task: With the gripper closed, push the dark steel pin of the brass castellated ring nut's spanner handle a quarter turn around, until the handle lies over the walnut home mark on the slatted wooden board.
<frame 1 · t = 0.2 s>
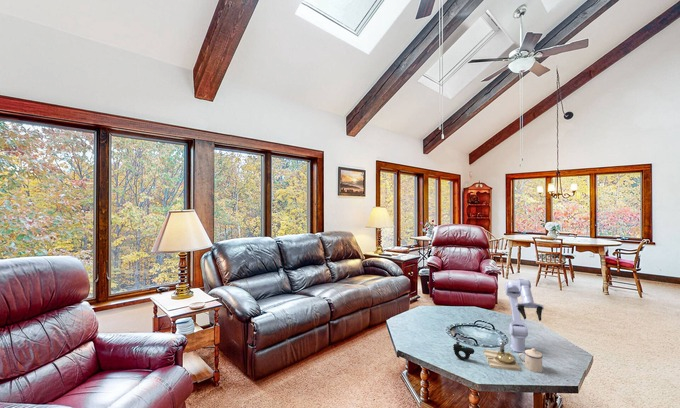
hand: (532, 319, 173), 31 cm above the table, tool tilted 45°, fingers open, 7 cm apart
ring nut: (504, 352, 185), point 6 cm above the table, hinge at 0.0°
teacup with lid: (530, 368, 178), on the table
controller: (463, 359, 188), on the table
slatted wooden board: (500, 360, 186), on the table
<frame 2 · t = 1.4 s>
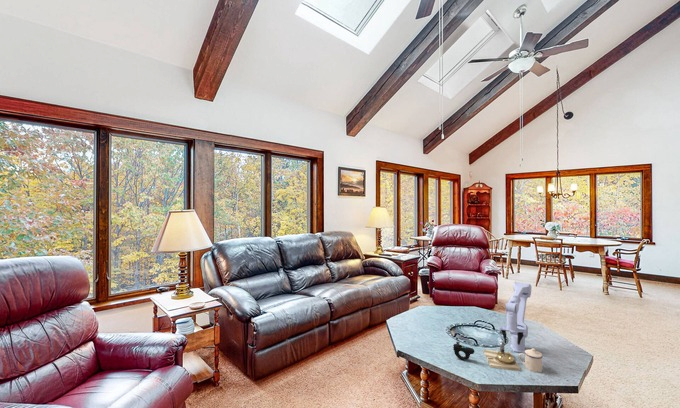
hand: (511, 343, 189), 9 cm above the table, tool pointing down, fingers open, 7 cm apart
nothing on the table moved.
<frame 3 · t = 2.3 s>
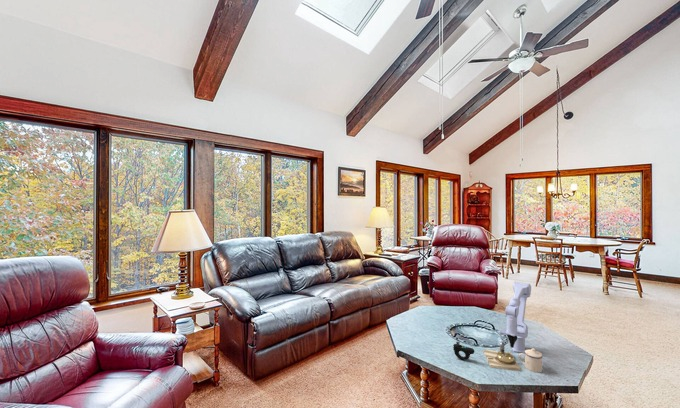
hand: (511, 346, 189), 7 cm above the table, tool pointing down, fingers closed
nothing on the table moved.
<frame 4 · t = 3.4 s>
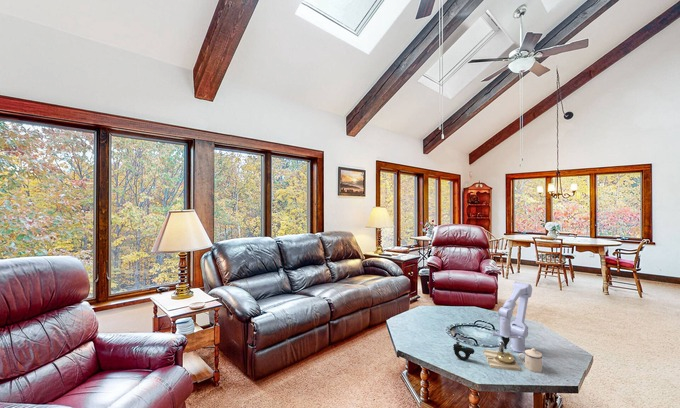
hand: (505, 348, 190), 6 cm above the table, tool pointing down, fingers closed
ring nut: (504, 352, 185), point 6 cm above the table, hinge at 3.8°, touching gripper
everything else where it was.
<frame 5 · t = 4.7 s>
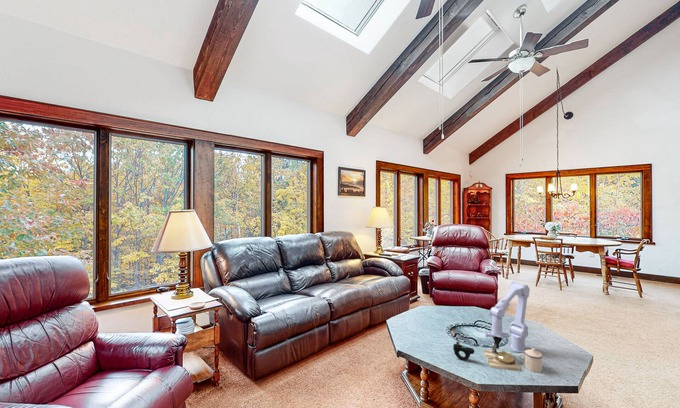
hand: (497, 348, 191), 6 cm above the table, tool pointing down, fingers closed
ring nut: (502, 352, 185), point 6 cm above the table, hinge at 45.2°, touching gripper
everything else where it was.
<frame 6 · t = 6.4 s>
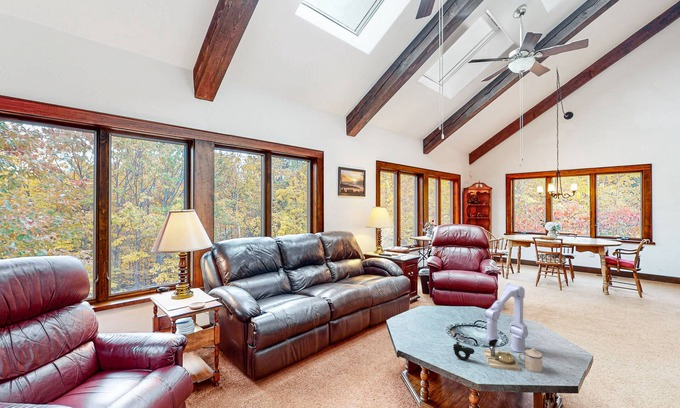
hand: (492, 350, 188), 6 cm above the table, tool pointing down, fingers closed
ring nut: (501, 353, 184), point 6 cm above the table, hinge at 90.9°, touching gripper
everything else where it was.
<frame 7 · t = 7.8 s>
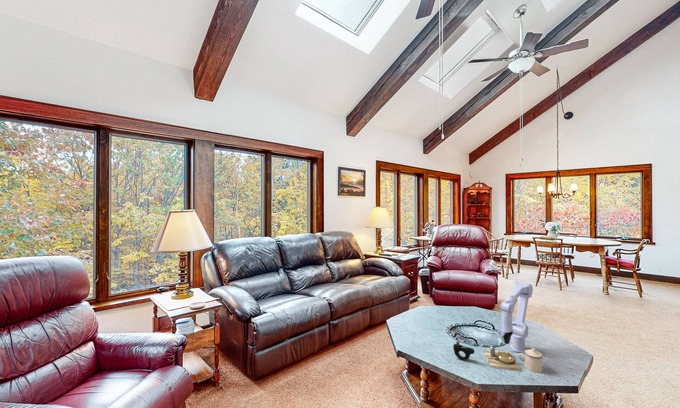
hand: (506, 343, 190), 9 cm above the table, tool pointing down, fingers closed
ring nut: (501, 353, 184), point 6 cm above the table, hinge at 90.6°
everything else where it was.
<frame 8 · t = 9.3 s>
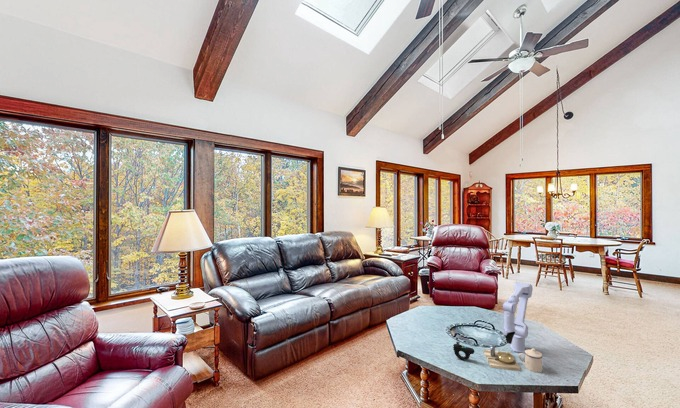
hand: (509, 343, 189), 9 cm above the table, tool pointing down, fingers closed
nothing on the table moved.
at the end: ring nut at +91° (first picture: +0°) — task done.
